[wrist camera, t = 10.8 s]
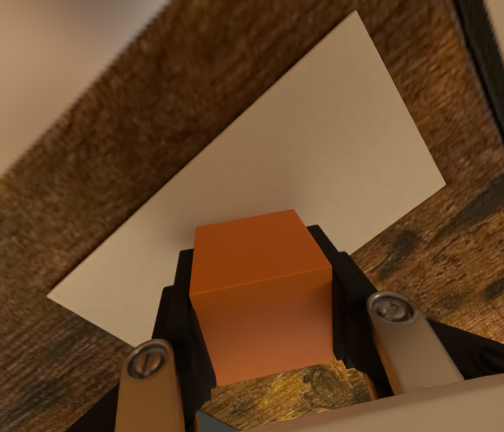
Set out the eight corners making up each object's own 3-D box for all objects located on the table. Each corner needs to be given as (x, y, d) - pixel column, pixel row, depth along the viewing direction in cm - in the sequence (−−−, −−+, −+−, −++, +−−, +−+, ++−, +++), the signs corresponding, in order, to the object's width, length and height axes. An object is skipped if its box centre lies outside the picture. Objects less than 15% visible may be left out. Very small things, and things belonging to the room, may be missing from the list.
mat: (351, 12, 10) (356, 9, 10) (440, 182, 14) (446, 184, 14) (50, 291, 14) (45, 296, 13) (184, 370, 17) (184, 376, 17)
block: (294, 208, 11) (332, 266, 8) (300, 285, 13) (334, 361, 9) (195, 226, 11) (188, 295, 7) (215, 302, 13) (217, 387, 9)
